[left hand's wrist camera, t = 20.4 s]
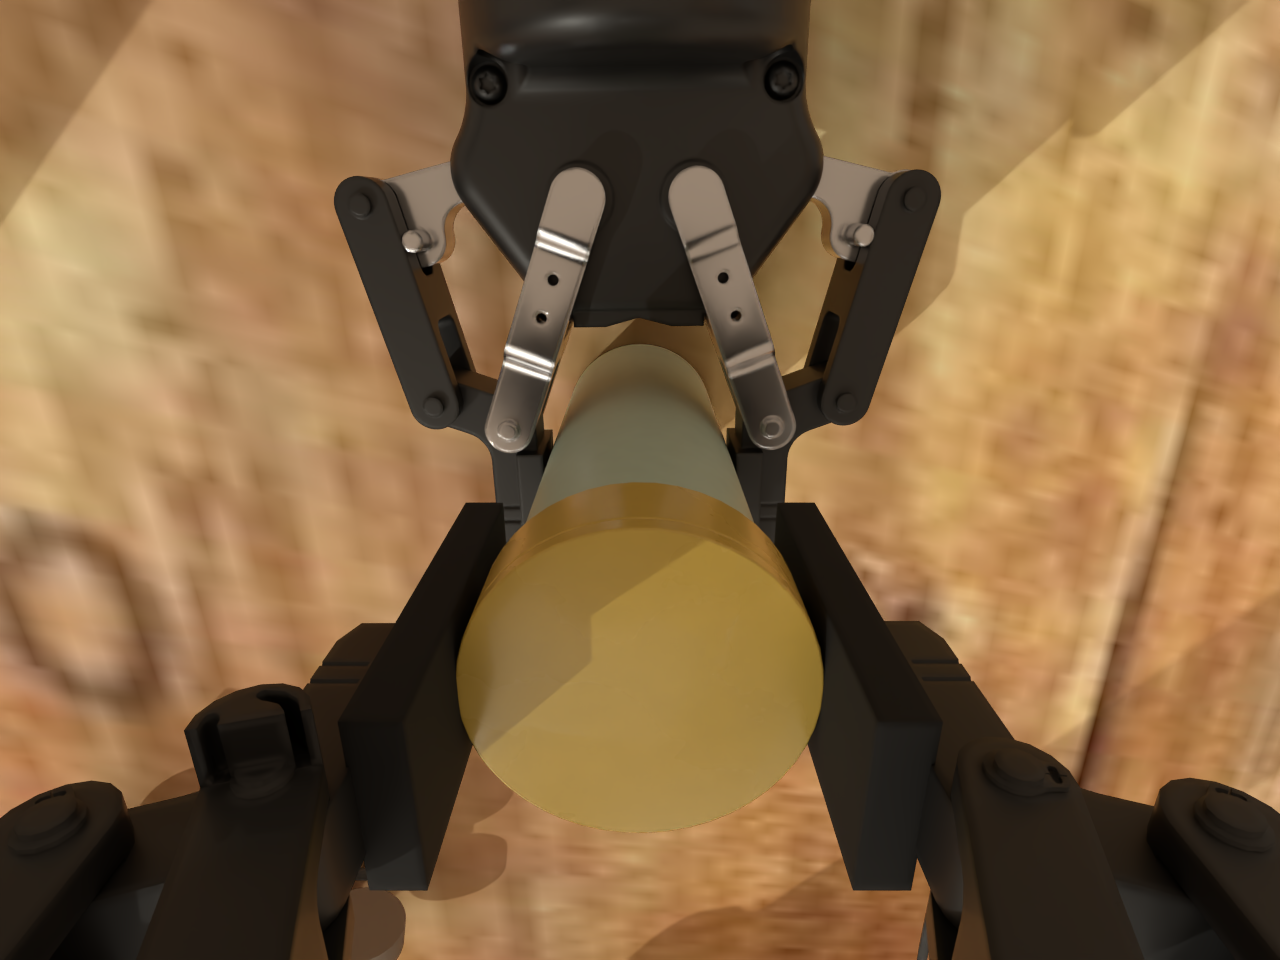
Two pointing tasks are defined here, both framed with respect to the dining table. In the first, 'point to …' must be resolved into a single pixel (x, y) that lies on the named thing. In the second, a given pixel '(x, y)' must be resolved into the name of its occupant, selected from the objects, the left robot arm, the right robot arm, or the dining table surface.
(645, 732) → the lid
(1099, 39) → the dining table surface
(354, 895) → the figurine character
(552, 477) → the jar
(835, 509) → the dining table surface
